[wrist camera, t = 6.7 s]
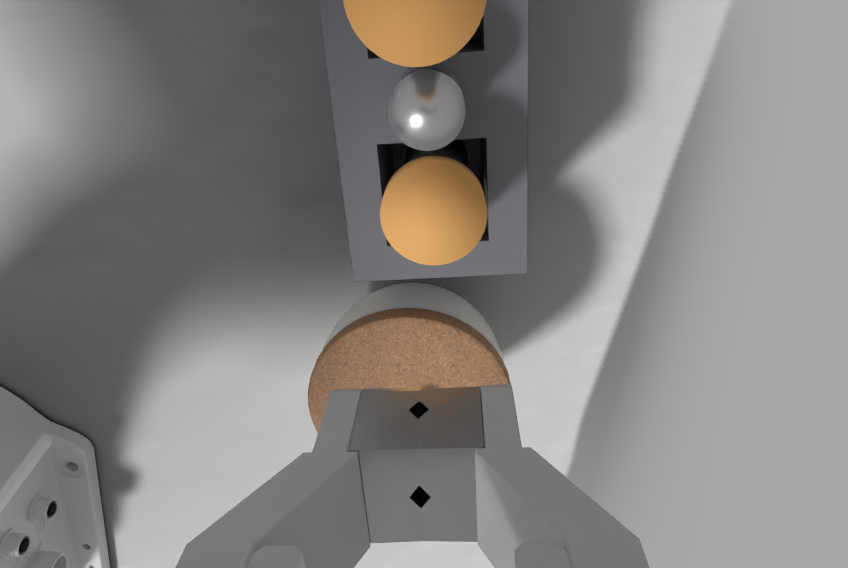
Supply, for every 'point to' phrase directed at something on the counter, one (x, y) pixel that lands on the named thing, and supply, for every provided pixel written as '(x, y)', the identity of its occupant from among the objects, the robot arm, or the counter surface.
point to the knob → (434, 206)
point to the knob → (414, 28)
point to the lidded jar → (406, 345)
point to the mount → (481, 135)
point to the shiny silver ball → (427, 107)
